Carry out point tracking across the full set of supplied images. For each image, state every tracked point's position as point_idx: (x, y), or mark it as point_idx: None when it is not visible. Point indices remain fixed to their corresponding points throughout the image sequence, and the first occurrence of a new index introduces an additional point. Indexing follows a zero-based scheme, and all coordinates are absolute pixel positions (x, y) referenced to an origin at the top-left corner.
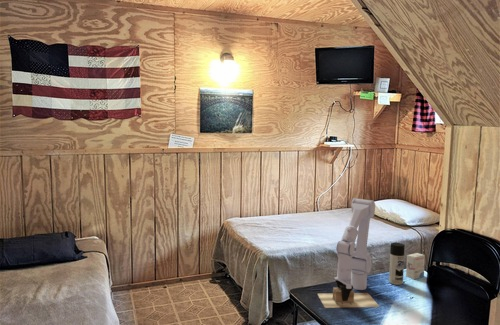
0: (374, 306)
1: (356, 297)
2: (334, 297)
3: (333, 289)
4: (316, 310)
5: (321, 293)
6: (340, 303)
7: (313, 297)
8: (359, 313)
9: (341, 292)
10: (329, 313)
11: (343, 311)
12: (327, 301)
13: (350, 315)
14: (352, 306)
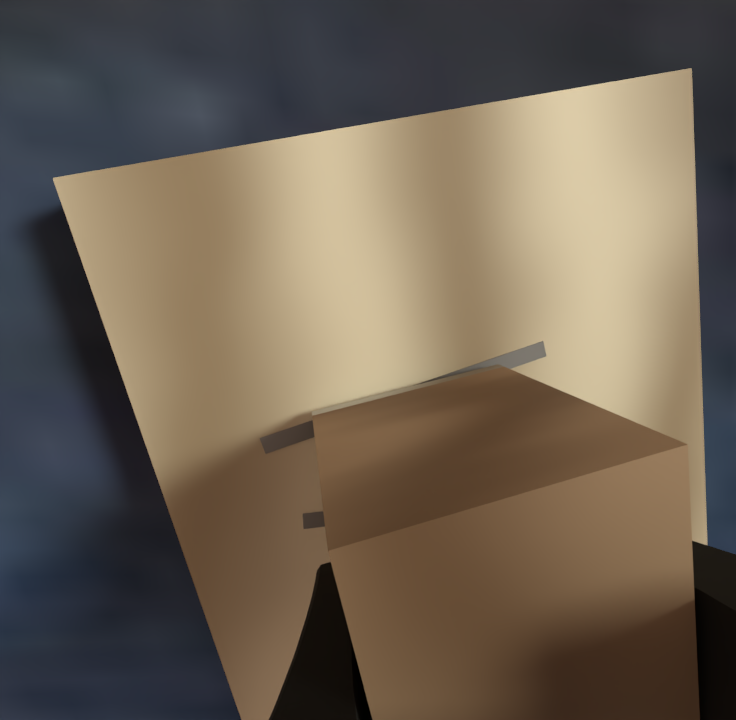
0: None
1: None
2: (414, 409)
3: (607, 434)
4: (65, 19)
5: (693, 162)
6: None
7: (609, 24)
8: (165, 714)
9: (346, 699)
10: (11, 277)
11: None
12: (369, 256)
13: (52, 606)
14: (254, 671)
